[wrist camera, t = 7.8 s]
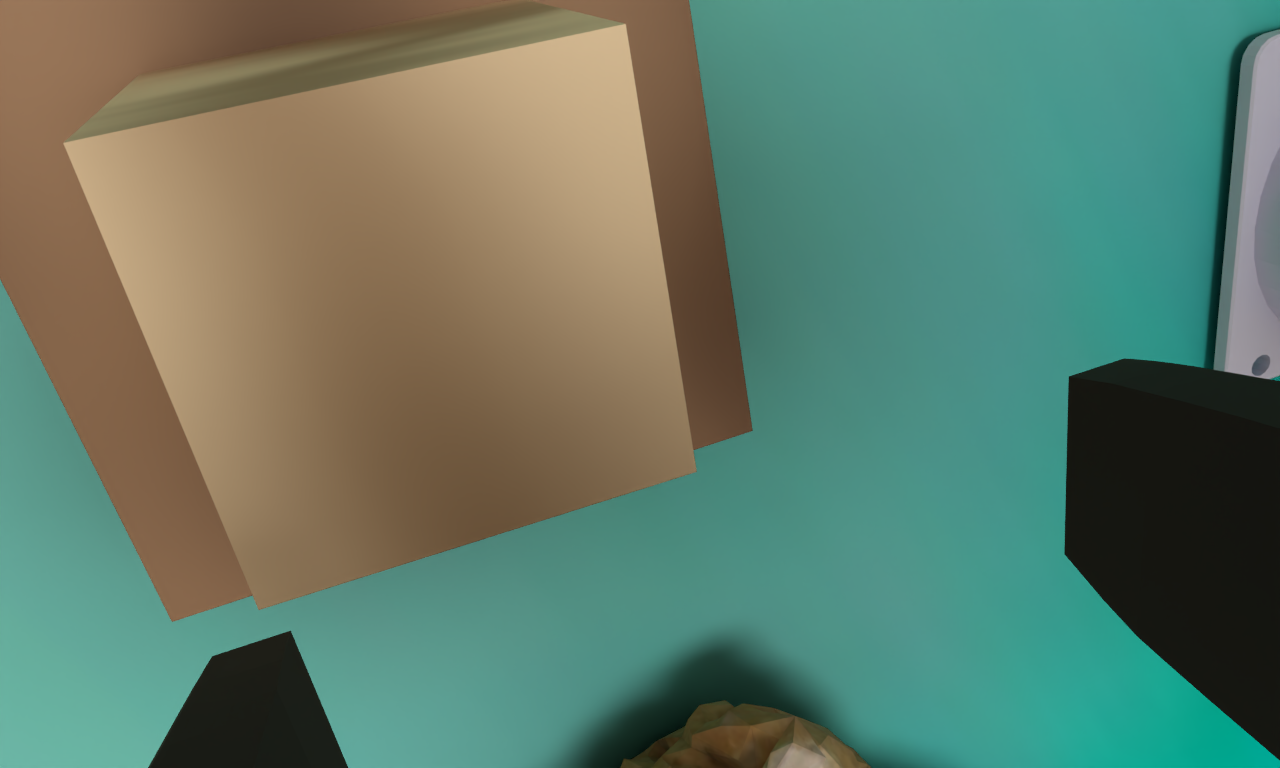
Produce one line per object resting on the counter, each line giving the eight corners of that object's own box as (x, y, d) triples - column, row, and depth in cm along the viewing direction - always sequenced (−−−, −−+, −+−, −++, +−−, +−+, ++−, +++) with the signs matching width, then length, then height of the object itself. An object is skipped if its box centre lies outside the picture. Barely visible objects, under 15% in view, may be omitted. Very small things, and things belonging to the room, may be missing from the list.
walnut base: (613, -197, 15) (657, -215, 13) (711, 387, 20) (752, 430, 18) (-110, -62, 13) (-171, -63, 11) (183, 554, 18) (172, 621, 16)
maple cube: (518, -2, 14) (626, 24, 9) (585, 327, 16) (695, 471, 12) (139, 74, 13) (62, 142, 8) (267, 415, 15) (259, 609, 11)
